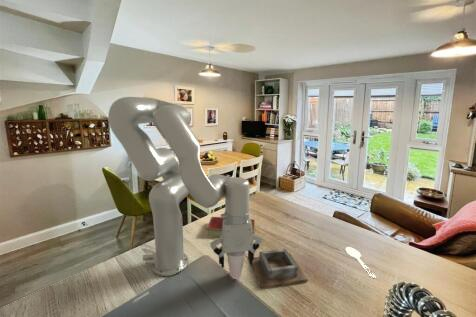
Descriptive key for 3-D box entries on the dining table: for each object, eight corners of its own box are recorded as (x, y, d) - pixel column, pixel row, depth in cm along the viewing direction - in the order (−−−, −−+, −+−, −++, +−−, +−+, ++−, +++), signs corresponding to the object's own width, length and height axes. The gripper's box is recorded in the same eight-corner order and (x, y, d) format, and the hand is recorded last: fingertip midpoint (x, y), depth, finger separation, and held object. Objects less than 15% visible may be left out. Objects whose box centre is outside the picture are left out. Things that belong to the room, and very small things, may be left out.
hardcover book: (211, 223, 115) (211, 215, 114) (254, 226, 113) (255, 218, 112) (206, 237, 103) (206, 228, 102) (254, 240, 101) (254, 231, 100)
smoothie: (243, 284, 76) (244, 246, 73) (223, 281, 77) (224, 243, 74) (246, 270, 82) (247, 235, 79) (228, 268, 84) (229, 232, 80)
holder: (261, 288, 75) (262, 276, 74) (250, 260, 88) (250, 249, 87) (307, 281, 78) (308, 270, 77) (289, 255, 91) (290, 245, 90)
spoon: (366, 279, 80) (367, 278, 80) (341, 247, 98) (342, 246, 97) (382, 279, 80) (382, 277, 80) (354, 247, 98) (354, 246, 98)
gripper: (210, 224, 69) (211, 274, 73) (266, 219, 73) (264, 267, 77) (208, 213, 77) (209, 259, 80) (259, 209, 80) (257, 253, 84)
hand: (236, 263), depth 79 cm, fingers open, 9 cm apart
